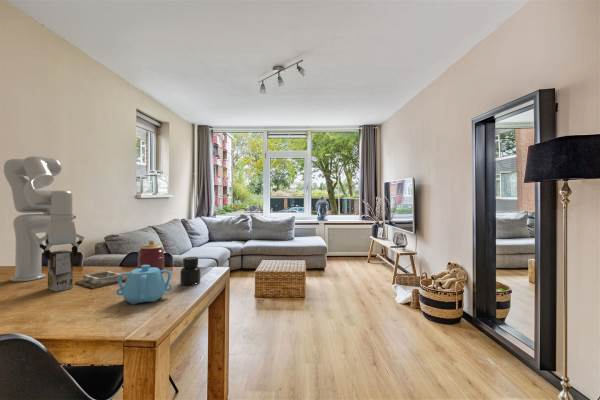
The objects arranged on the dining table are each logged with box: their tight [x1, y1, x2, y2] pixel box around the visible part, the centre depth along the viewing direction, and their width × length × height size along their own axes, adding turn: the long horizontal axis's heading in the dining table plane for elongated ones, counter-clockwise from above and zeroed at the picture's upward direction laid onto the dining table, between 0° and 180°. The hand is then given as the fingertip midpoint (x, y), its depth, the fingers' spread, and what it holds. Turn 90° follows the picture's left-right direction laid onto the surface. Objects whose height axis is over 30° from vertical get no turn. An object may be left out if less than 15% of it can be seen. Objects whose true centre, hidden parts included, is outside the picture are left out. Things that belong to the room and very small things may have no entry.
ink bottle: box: [179, 256, 201, 286], centre depth 140 cm, size 10×9×12 cm
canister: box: [137, 240, 165, 271], centre depth 159 cm, size 13×13×18 cm
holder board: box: [75, 270, 128, 290], centre depth 140 cm, size 16×16×4 cm
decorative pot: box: [115, 265, 173, 305], centre depth 116 cm, size 16×16×14 cm
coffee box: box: [47, 249, 74, 292], centre depth 129 cm, size 9×6×16 cm
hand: (61, 257), depth 129 cm, fingers open, 9 cm apart
